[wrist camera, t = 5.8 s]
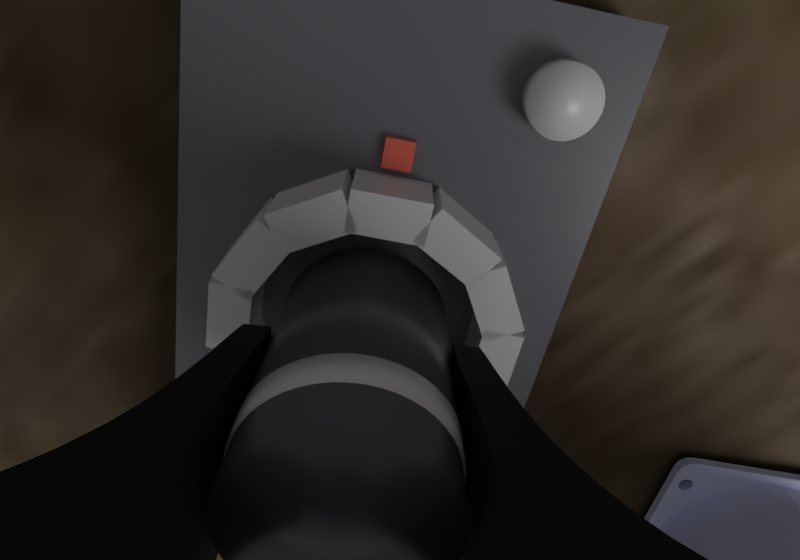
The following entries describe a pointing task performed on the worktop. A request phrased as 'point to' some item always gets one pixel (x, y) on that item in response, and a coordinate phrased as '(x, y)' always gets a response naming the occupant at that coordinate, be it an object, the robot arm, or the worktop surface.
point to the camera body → (399, 155)
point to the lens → (348, 425)
